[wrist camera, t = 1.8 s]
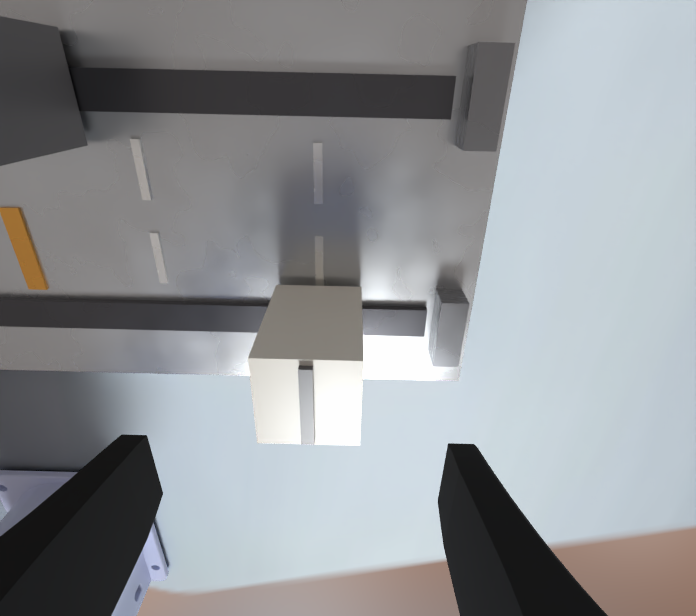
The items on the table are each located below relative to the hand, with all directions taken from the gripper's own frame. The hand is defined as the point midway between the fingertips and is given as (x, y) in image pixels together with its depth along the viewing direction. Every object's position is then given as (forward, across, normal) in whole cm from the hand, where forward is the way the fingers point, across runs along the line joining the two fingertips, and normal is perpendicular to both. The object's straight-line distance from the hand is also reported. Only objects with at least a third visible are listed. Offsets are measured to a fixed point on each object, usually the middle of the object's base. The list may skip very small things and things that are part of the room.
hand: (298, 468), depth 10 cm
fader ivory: (+7, 0, 0) cm, 7 cm away
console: (+9, +6, -4) cm, 11 cm away
